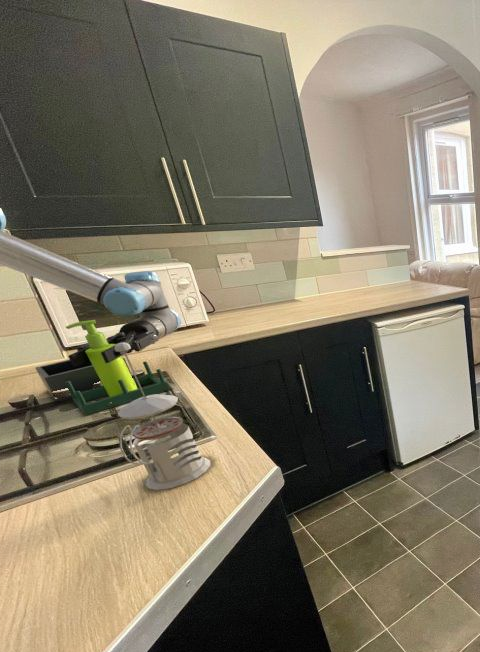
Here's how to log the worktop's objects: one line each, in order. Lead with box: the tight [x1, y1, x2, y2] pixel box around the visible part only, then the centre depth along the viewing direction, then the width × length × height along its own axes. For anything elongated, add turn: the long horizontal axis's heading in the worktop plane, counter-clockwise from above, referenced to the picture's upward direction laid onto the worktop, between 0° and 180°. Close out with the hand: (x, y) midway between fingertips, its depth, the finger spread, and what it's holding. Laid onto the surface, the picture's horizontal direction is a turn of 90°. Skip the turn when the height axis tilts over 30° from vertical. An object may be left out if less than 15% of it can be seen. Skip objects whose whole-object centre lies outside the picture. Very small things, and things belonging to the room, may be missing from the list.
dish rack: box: [65, 361, 171, 416], centre depth 109 cm, size 17×12×6 cm
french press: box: [115, 342, 211, 491], centre depth 71 cm, size 10×12×25 cm
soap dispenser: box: [65, 319, 139, 397], centre depth 105 cm, size 6×7×20 cm
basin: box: [34, 356, 132, 403], centre depth 116 cm, size 16×14×7 cm
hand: (89, 359), depth 100 cm, fingers closed on soap dispenser, 6 cm apart
